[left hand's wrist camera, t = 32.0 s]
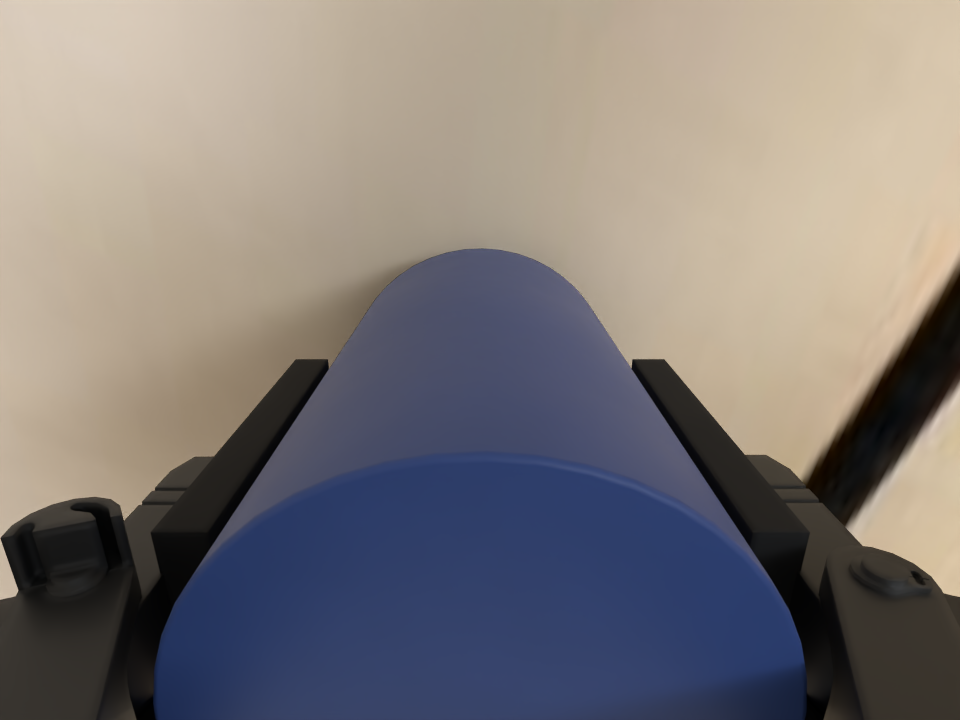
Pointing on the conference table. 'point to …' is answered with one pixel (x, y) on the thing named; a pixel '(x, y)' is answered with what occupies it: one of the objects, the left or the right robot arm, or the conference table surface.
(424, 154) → the conference table surface
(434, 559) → the canister
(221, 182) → the conference table surface
